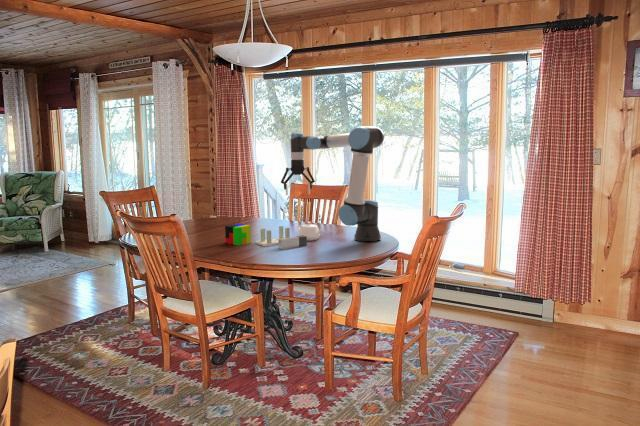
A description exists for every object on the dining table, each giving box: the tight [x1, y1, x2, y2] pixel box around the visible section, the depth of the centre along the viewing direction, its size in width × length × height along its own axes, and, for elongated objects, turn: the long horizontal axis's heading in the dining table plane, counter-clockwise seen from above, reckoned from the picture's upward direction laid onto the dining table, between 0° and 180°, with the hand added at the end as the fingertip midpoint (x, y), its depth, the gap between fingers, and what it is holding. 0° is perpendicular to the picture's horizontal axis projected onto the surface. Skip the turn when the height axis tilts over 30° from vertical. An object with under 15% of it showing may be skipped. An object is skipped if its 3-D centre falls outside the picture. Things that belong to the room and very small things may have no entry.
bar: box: [278, 235, 308, 250], centre depth 283 cm, size 4×16×5 cm, turn 126°
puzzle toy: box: [224, 223, 252, 247], centre depth 293 cm, size 10×10×10 cm
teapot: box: [297, 221, 323, 241], centre depth 302 cm, size 20×12×10 cm, turn 45°
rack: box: [254, 225, 291, 248], centre depth 293 cm, size 10×20×8 cm, turn 126°
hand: (298, 194), depth 313 cm, fingers open, 13 cm apart
